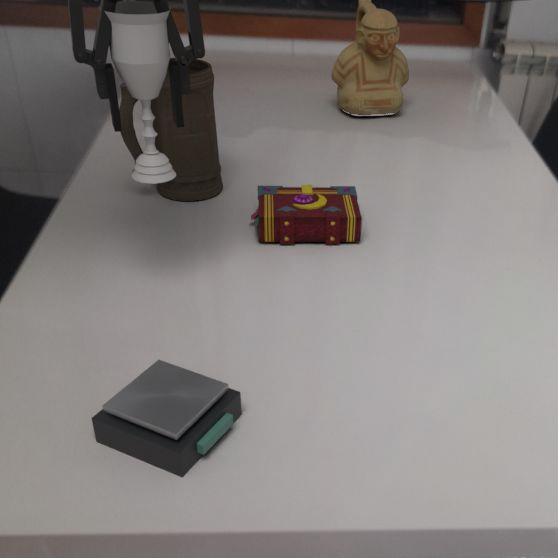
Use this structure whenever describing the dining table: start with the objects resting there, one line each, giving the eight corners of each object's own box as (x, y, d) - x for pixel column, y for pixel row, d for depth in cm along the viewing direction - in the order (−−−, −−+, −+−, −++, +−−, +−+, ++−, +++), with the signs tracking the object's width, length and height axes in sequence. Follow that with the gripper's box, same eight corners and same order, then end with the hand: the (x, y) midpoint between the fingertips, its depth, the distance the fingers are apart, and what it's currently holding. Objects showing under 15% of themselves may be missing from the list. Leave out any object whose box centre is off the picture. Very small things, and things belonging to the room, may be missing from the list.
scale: (96, 441, 69) (91, 418, 67) (161, 385, 76) (158, 362, 74) (188, 480, 65) (185, 456, 63) (247, 417, 73) (246, 393, 71)
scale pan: (102, 411, 67) (101, 405, 67) (159, 364, 73) (158, 359, 73) (176, 440, 64) (176, 434, 64) (229, 389, 71) (228, 383, 70)
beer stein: (203, 170, 125) (187, 50, 113) (239, 189, 119) (226, 65, 106) (123, 197, 117) (96, 70, 105) (158, 219, 111) (133, 88, 98)
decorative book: (361, 245, 105) (363, 214, 102) (249, 245, 103) (248, 213, 100) (353, 212, 114) (355, 182, 111) (250, 212, 112) (249, 181, 109)
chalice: (109, 179, 82) (84, 8, 72) (143, 160, 88) (124, -2, 77) (165, 191, 81) (147, 17, 70) (196, 170, 86) (183, 6, 75)
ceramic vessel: (340, 125, 148) (346, -8, 134) (321, 97, 164) (324, -25, 149) (418, 123, 152) (432, -7, 138) (392, 96, 167) (402, -24, 153)
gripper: (10, -122, 62) (60, 143, 75) (229, -114, 68) (239, 130, 81) (10, -127, 67) (56, 120, 81) (212, -119, 73) (224, 110, 87)
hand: (148, 125), depth 81 cm, fingers closed on chalice, 6 cm apart
